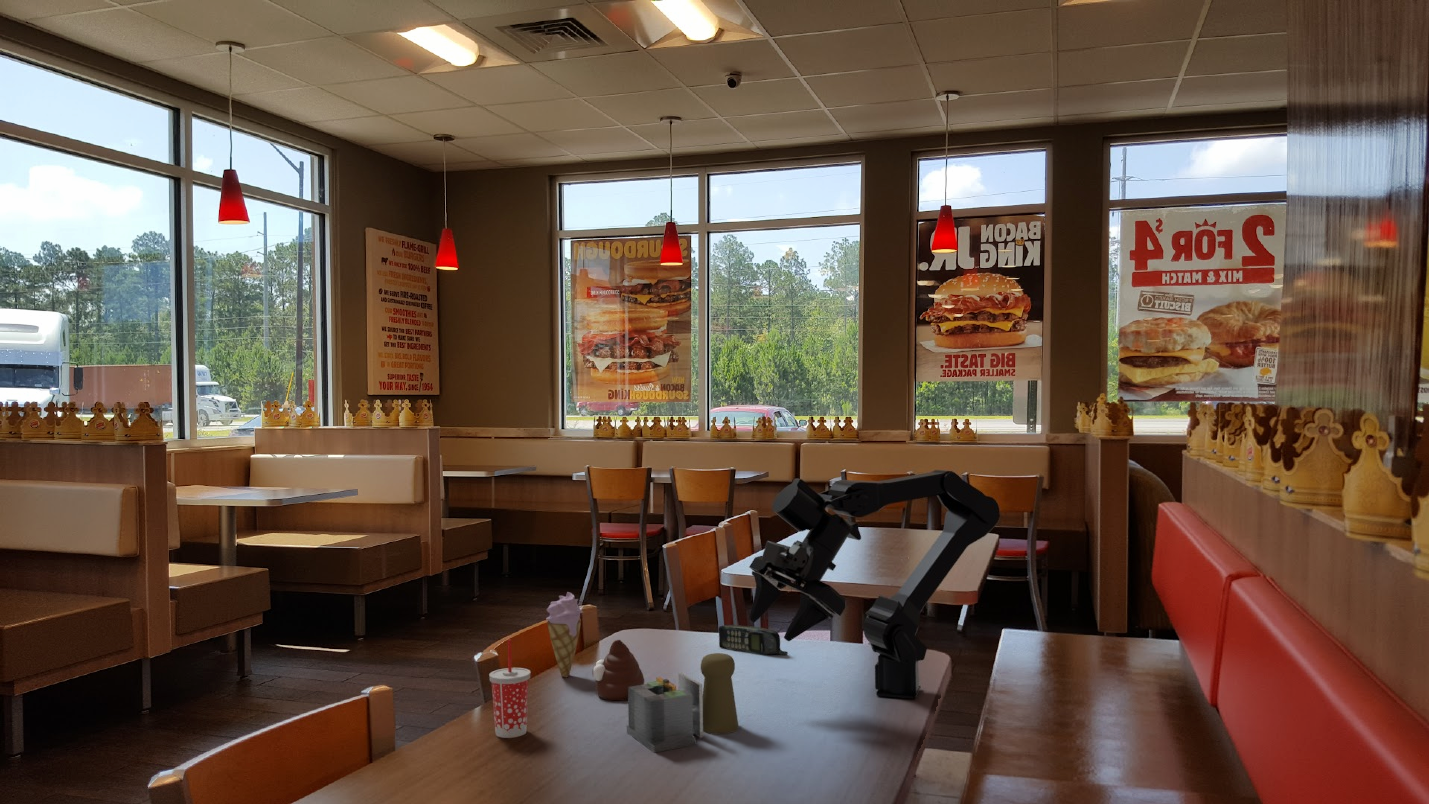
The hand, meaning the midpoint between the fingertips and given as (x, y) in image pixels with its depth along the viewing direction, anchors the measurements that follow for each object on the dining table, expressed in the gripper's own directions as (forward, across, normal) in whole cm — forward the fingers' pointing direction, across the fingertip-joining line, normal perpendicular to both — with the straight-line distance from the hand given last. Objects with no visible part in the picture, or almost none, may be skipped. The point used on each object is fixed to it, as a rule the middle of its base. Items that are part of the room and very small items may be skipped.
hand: (768, 630), depth 156 cm
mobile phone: (+2, -31, +28) cm, 41 cm away
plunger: (+20, +2, -6) cm, 21 cm away
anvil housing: (+22, +2, -8) cm, 23 cm away
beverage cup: (+34, -14, -20) cm, 42 cm away
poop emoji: (+22, -22, -1) cm, 31 cm away
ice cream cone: (+25, -37, -2) cm, 44 cm away
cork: (+17, +3, 0) cm, 17 cm away
